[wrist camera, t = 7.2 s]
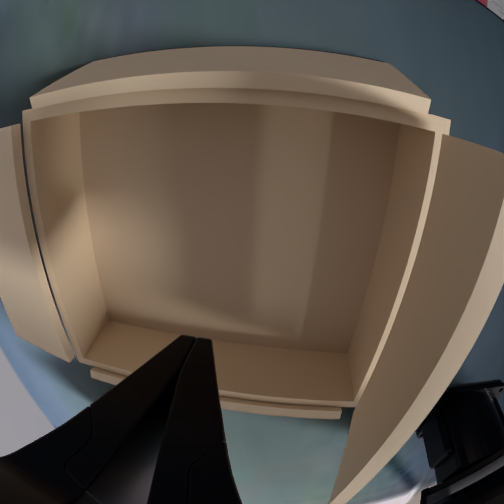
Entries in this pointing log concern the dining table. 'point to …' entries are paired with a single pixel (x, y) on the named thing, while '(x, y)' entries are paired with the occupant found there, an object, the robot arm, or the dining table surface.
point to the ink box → (494, 6)
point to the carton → (234, 214)
